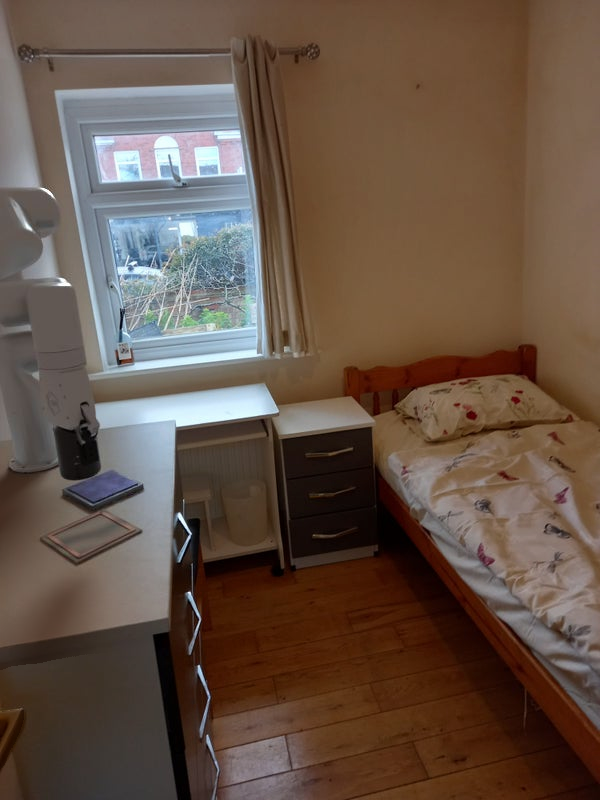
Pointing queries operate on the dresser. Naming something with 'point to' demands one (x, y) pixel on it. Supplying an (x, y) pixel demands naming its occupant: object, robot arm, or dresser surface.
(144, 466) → the dresser surface
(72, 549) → the marked board
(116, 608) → the dresser surface
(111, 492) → the ink pad
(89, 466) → the supplement bottle
